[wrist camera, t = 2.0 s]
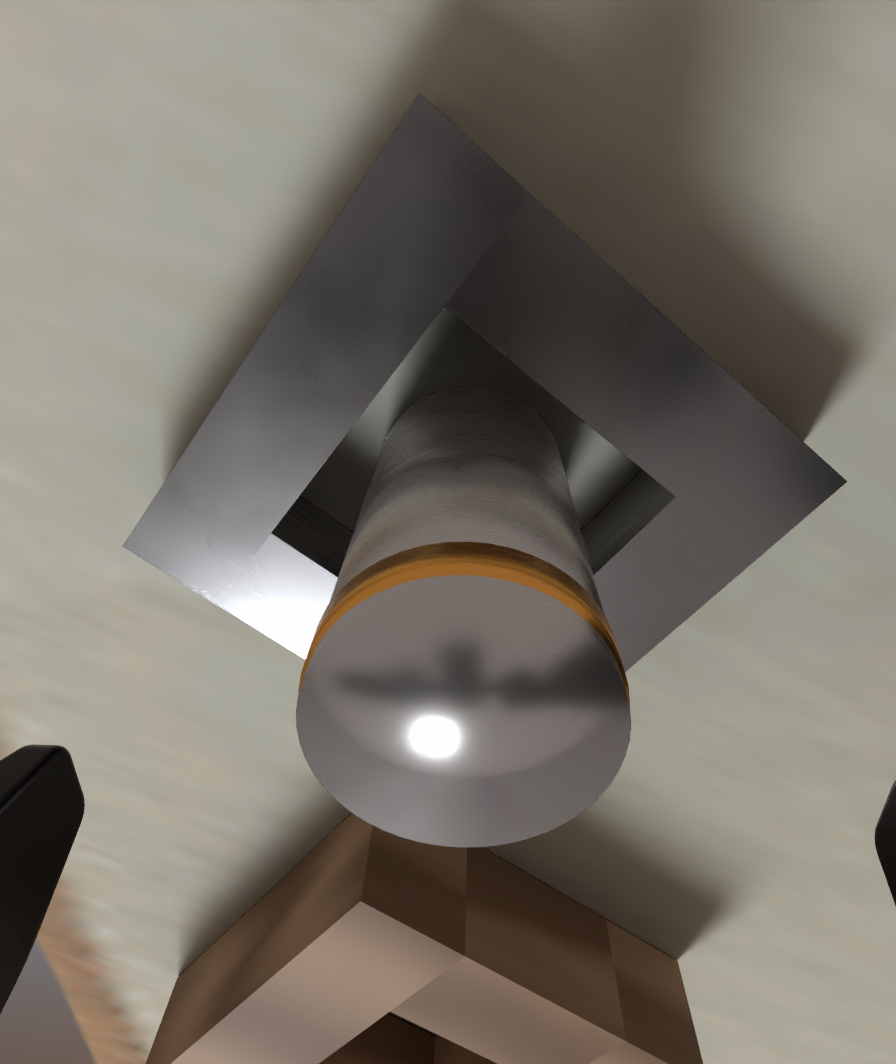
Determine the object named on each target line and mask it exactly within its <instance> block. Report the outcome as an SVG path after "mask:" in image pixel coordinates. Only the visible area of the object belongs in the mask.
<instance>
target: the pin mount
mask: <svg viewBox="0 0 896 1064" xmlns="http://www.w3.org/2000/svg"><path fill="white" fill-rule="evenodd" d="M443 307H445V308H447V309H448V310H449V311H450V312H451V313H453V314H454V315H455V316H456V317H458V318H459V319H460V320H461V321H462V322H464V323H465V324H466V325H467V326H469V327H470V328H471V329H472V330H473V331H475V332H476V333H477V334H478V335H480V336H481V337H482V338H483V339H484V340H486V341H487V342H488V343H489V344H491V345H492V346H493V347H494V348H495V349H497V350H498V351H499V352H500V353H501V354H503V355H504V356H505V357H506V358H508V359H509V360H510V361H511V362H512V363H514V364H515V365H516V366H517V367H519V368H520V369H521V370H522V371H523V372H525V373H526V374H527V375H528V376H530V377H531V378H532V379H533V380H534V381H536V382H537V383H538V384H539V385H540V386H542V387H543V388H544V389H545V390H547V391H548V392H549V393H550V394H551V395H553V396H554V397H555V398H556V399H558V400H559V401H560V402H561V403H562V404H564V405H565V406H566V407H567V408H569V409H570V410H571V411H572V412H573V413H575V414H576V415H577V416H578V417H579V418H581V419H582V420H583V421H584V422H586V423H587V424H588V425H589V426H590V427H592V428H593V429H594V430H595V431H597V432H598V433H599V434H600V435H601V436H603V437H604V438H605V439H606V440H608V441H609V442H610V443H611V444H612V445H614V446H615V447H616V448H617V449H618V450H620V451H621V452H622V453H623V454H625V455H626V456H627V457H628V458H629V459H631V460H632V461H633V462H634V463H636V464H637V465H638V466H639V467H640V468H642V470H641V471H640V472H639V473H638V474H637V475H636V476H635V477H634V478H633V479H632V480H631V481H630V482H629V483H628V484H627V485H626V486H625V487H624V488H623V489H622V490H621V491H620V492H619V493H618V494H617V495H616V496H615V497H614V498H613V499H612V500H611V501H610V502H609V503H608V504H607V505H606V506H605V507H604V508H603V509H602V510H601V511H600V512H599V513H598V514H597V515H596V516H595V517H594V518H593V519H592V520H591V521H590V522H589V523H588V524H587V525H586V526H585V527H584V528H583V529H582V530H581V532H582V536H583V540H584V543H585V547H586V550H587V554H588V558H589V561H590V565H591V568H592V572H593V576H594V579H595V583H596V586H597V590H598V594H599V597H600V601H601V604H602V608H603V611H604V614H605V616H606V617H607V620H608V622H609V624H610V626H611V628H612V631H613V633H614V636H615V639H616V643H617V646H618V650H619V653H620V657H621V660H622V664H623V667H624V671H625V672H626V671H627V670H628V669H629V668H630V667H632V666H633V665H634V664H635V663H636V662H637V661H639V660H640V659H641V658H642V657H643V656H644V655H646V654H647V653H648V652H649V651H650V650H651V649H653V648H654V647H655V646H656V645H657V644H658V643H660V642H661V641H662V640H663V639H664V638H665V637H667V636H668V635H669V634H670V633H671V632H672V631H674V630H675V629H676V628H677V627H678V626H679V625H681V624H682V623H683V622H684V621H685V620H686V619H688V618H689V617H690V616H691V615H692V614H693V613H695V612H696V611H697V610H698V609H699V608H700V607H702V606H703V605H704V604H705V603H706V602H707V601H709V600H710V599H711V598H712V597H713V596H714V595H716V594H717V593H718V592H719V591H720V590H721V589H723V588H724V587H725V586H726V585H727V584H728V583H729V582H731V581H732V580H733V579H734V578H735V577H736V576H738V575H739V574H740V573H741V572H742V571H743V570H745V569H746V568H747V567H748V566H749V565H750V564H752V563H753V562H754V561H755V560H756V559H757V558H759V557H760V556H761V555H762V554H763V553H764V552H766V551H767V550H768V549H769V548H770V547H771V546H773V545H774V544H775V543H776V542H777V541H778V540H780V539H781V538H782V537H783V536H784V535H785V534H787V533H788V532H789V531H790V530H791V529H792V528H794V527H795V526H796V525H797V524H798V523H799V522H801V521H802V520H803V519H804V518H805V517H806V516H808V515H809V514H810V513H811V512H812V511H813V510H815V509H816V508H817V507H818V506H819V505H820V504H822V503H823V502H824V501H825V500H826V499H827V498H829V497H830V496H831V495H832V494H833V493H834V492H836V491H837V490H838V489H839V488H840V487H841V486H843V485H844V484H845V483H846V482H847V481H846V480H845V479H844V478H843V477H842V476H841V475H839V474H838V473H837V472H836V471H835V470H834V469H833V468H832V467H831V466H829V465H828V464H827V463H826V462H825V461H824V460H823V459H822V458H821V457H820V456H818V455H817V454H816V453H815V452H814V451H813V450H812V449H811V448H810V447H809V446H807V445H806V444H805V443H804V442H803V441H802V440H801V439H800V438H799V437H798V436H796V435H795V434H794V433H793V432H792V431H791V430H790V429H789V428H788V427H787V426H785V425H784V424H783V423H782V422H781V421H780V420H779V419H778V418H777V417H776V416H774V415H773V414H772V413H771V412H770V411H769V410H768V409H767V408H766V407H764V406H763V405H762V404H761V403H760V402H759V401H758V400H757V399H756V398H755V397H753V396H752V395H751V394H750V393H749V392H748V391H747V390H746V389H745V388H744V387H742V386H741V385H740V384H739V383H738V382H737V381H736V380H735V379H734V378H733V377H731V376H730V375H729V374H728V373H727V372H726V371H725V370H724V369H723V368H722V367H720V366H719V365H718V364H717V363H716V362H715V361H714V360H713V359H712V358H711V357H709V356H708V355H707V354H706V353H705V352H704V351H703V350H702V349H701V348H699V347H698V346H697V345H696V344H695V343H694V342H693V341H692V340H691V339H690V338H688V337H687V336H686V335H685V334H684V333H683V332H682V331H681V330H680V329H679V328H677V327H676V326H675V325H674V324H673V323H672V322H671V321H670V320H669V319H668V318H666V317H665V316H664V315H663V314H662V313H661V312H660V311H659V310H658V309H657V308H655V307H654V306H653V305H652V304H651V303H650V302H649V301H648V300H647V299H646V298H644V297H643V296H642V295H641V294H640V293H639V292H638V291H637V290H636V289H635V288H633V287H632V286H631V285H630V284H629V283H628V282H627V281H626V280H625V279H623V278H622V277H621V276H620V275H619V274H618V273H617V272H616V271H615V270H614V269H612V268H611V267H610V266H609V265H608V264H607V263H606V262H605V261H604V260H603V259H601V258H600V257H599V256H598V255H597V254H596V253H595V252H594V251H593V250H592V249H590V248H589V247H588V246H587V245H586V244H585V243H584V242H583V241H582V240H581V239H579V238H578V237H577V236H576V235H575V234H574V233H573V232H572V231H571V230H570V229H568V228H567V227H566V226H565V225H564V224H563V223H562V222H561V221H560V220H558V219H557V218H556V217H555V216H554V215H553V214H552V213H551V212H550V211H549V210H547V209H546V208H545V207H544V206H543V205H542V204H541V203H540V202H539V201H538V200H536V199H535V198H534V197H533V196H532V195H531V194H530V193H529V192H528V191H527V190H525V189H524V188H523V187H522V186H521V185H520V184H519V183H518V182H517V181H516V180H514V179H513V178H512V177H511V176H510V175H509V174H508V173H507V172H506V171H505V170H503V169H502V168H501V167H500V166H499V165H498V164H497V163H496V162H495V161H494V160H492V159H491V158H490V157H489V156H488V155H487V154H486V153H485V152H484V151H482V150H481V149H480V148H479V147H478V146H477V145H476V144H475V143H474V142H473V141H471V140H470V139H469V138H468V137H467V136H466V135H465V134H464V133H463V132H462V131H460V130H459V129H458V128H457V127H456V126H455V125H454V124H453V123H452V122H451V121H449V120H448V119H447V118H446V117H445V116H444V115H443V114H442V113H441V112H440V111H438V110H437V109H436V108H435V107H434V106H433V105H432V104H431V103H430V102H429V101H427V100H426V99H425V98H424V97H423V96H422V95H421V94H420V93H418V95H417V96H416V98H415V100H414V101H413V103H412V104H411V106H410V107H409V109H408V110H407V112H406V113H405V115H404V116H403V118H402V119H401V121H400V122H399V124H398V126H397V127H396V129H395V130H394V132H393V133H392V135H391V136H390V138H389V139H388V141H387V142H386V144H385V145H384V147H383V148H382V150H381V152H380V153H379V155H378V156H377V158H376V159H375V161H374V162H373V164H372V165H371V167H370V168H369V170H368V171H367V173H366V175H365V176H364V178H363V179H362V181H361V182H360V184H359V185H358V187H357V188H356V190H355V191H354V193H353V194H352V196H351V197H350V199H349V201H348V202H347V204H346V205H345V207H344V208H343V210H342V211H341V213H340V214H339V216H338V217H337V219H336V220H335V222H334V223H333V225H332V227H331V228H330V230H329V231H328V233H327V234H326V236H325V237H324V239H323V240H322V242H321V243H320V245H319V246H318V248H317V249H316V251H315V253H314V254H313V256H312V257H311V259H310V260H309V262H308V263H307V265H306V266H305V268H304V269H303V271H302V272H301V274H300V276H299V277H298V279H297V280H296V282H295V283H294V285H293V286H292V288H291V289H290V291H289V292H288V294H287V295H286V297H285V298H284V300H283V302H282V303H281V305H280V306H279V308H278V309H277V311H276V312H275V314H274V315H273V317H272V318H271V320H270V321H269V323H268V324H267V326H266V328H265V329H264V331H263V332H262V334H261V335H260V337H259V338H258V340H257V341H256V343H255V344H254V346H253V347H252V349H251V350H250V352H249V354H248V355H247V357H246V358H245V360H244V361H243V363H242V364H241V366H240V367H239V369H238V370H237V372H236V373H235V375H234V377H233V378H232V380H231V381H230V383H229V384H228V386H227V387H226V389H225V390H224V392H223V393H222V395H221V396H220V398H219V399H218V401H217V403H216V404H215V406H214V407H213V409H212V410H211V412H210V413H209V415H208V416H207V418H206V419H205V421H204V422H203V424H202V425H201V427H200V429H199V430H198V432H197V433H196V435H195V436H194V438H193V439H192V441H191V442H190V444H189V445H188V447H187V448H186V450H185V452H184V453H183V455H182V456H181V458H180V459H179V461H178V462H177V464H176V465H175V467H174V468H173V470H172V471H171V473H170V474H169V476H168V478H167V479H166V481H165V482H164V484H163V485H162V487H161V488H160V490H159V491H158V493H157V494H156V496H155V497H154V499H153V500H152V502H151V504H150V505H149V507H148V508H147V510H146V511H145V513H144V514H143V516H142V517H141V519H140V520H139V522H138V523H137V525H136V526H135V528H134V530H133V531H132V533H131V534H130V536H129V537H128V539H127V540H126V542H125V543H124V545H123V547H124V548H126V549H127V550H129V551H131V552H132V553H134V554H135V555H137V556H139V557H140V558H142V559H144V560H145V561H147V562H148V563H150V564H152V565H153V566H155V567H156V568H158V569H160V570H161V571H163V572H165V573H166V574H168V575H169V576H171V577H173V578H174V579H176V580H177V581H179V582H181V583H182V584H184V585H186V586H187V587H189V588H190V589H192V590H194V591H195V592H197V593H198V594H200V595H202V596H203V597H205V598H207V599H208V600H210V601H211V602H213V603H215V604H216V605H218V606H219V607H221V608H223V609H224V610H226V611H228V612H229V613H231V614H232V615H234V616H236V617H237V618H239V619H240V620H242V621H244V622H245V623H247V624H249V625H250V626H252V627H253V628H255V629H257V630H258V631H260V632H261V633H263V634H265V635H266V636H268V637H269V638H271V639H273V640H274V641H276V642H278V643H279V644H281V645H282V646H284V647H286V648H287V649H289V650H290V651H292V652H294V653H295V654H297V655H299V656H300V657H302V658H303V659H305V660H306V657H307V654H308V651H309V648H310V646H311V643H312V640H313V637H314V634H315V631H316V628H317V626H318V623H319V621H320V619H321V617H322V615H323V613H324V611H325V610H326V608H327V606H328V605H329V603H330V600H331V597H332V594H333V591H334V588H335V585H336V582H337V579H338V576H339V573H340V570H341V567H342V564H343V561H344V559H345V556H346V553H347V550H348V547H349V544H350V541H351V538H352V535H353V532H351V531H350V530H348V529H347V528H345V527H344V526H343V525H341V524H340V523H338V522H337V521H335V520H334V519H332V518H331V517H329V516H328V515H327V514H325V513H324V512H322V511H321V510H319V509H318V508H316V507H315V506H313V505H312V504H311V503H309V502H308V501H306V500H305V499H303V498H302V497H300V494H301V493H302V492H303V490H304V489H305V488H306V487H307V485H308V484H309V483H310V481H311V480H312V479H313V477H314V476H315V475H316V473H317V472H318V471H319V469H320V468H321V467H322V466H323V464H324V463H325V462H326V460H327V459H328V458H329V456H330V455H331V454H332V452H333V451H334V450H335V448H336V447H337V446H338V445H339V443H340V442H341V441H342V439H343V438H344V437H345V435H346V434H347V433H348V431H349V430H350V429H351V427H352V426H353V425H354V424H355V422H356V421H357V420H358V418H359V417H360V416H361V414H362V413H363V412H364V410H365V409H366V408H367V407H368V405H369V404H370V403H371V401H372V400H373V399H374V397H375V396H376V395H377V393H378V392H379V391H380V389H381V388H382V387H383V386H384V384H385V383H386V382H387V380H388V379H389V378H390V376H391V375H392V374H393V372H394V371H395V370H396V368H397V367H398V366H399V365H400V363H401V362H402V361H403V359H404V358H405V357H406V355H407V354H408V353H409V351H410V350H411V349H412V348H413V346H414V345H415V344H416V342H417V341H418V340H419V338H420V337H421V336H422V334H423V333H424V332H425V330H426V329H427V328H428V327H429V325H430V324H431V323H432V321H433V320H434V319H435V317H436V316H437V315H438V313H439V312H440V311H441V309H442V308H443Z"/></svg>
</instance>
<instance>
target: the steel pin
mask: <svg viewBox="0 0 896 1064" xmlns="http://www.w3.org/2000/svg"><path fill="white" fill-rule="evenodd" d="M296 724H297V732H298V737H299V742H300V745H301V748H302V751H303V753H304V756H305V759H306V761H307V763H308V764H309V766H310V768H311V770H312V772H313V773H314V775H315V776H316V778H317V779H318V780H319V782H320V783H321V784H322V786H323V787H324V788H325V789H326V790H327V791H328V792H329V793H330V794H331V795H332V796H333V797H334V798H335V799H336V800H337V801H338V802H339V803H340V804H341V805H343V806H344V807H345V808H346V809H348V810H349V811H350V812H352V813H353V814H355V815H356V816H358V817H359V818H361V819H363V820H364V821H366V822H368V823H370V824H372V825H374V826H376V827H378V828H380V829H382V830H384V831H386V832H389V833H392V834H394V835H397V836H400V837H403V838H406V839H410V840H414V841H417V842H421V843H427V844H433V845H438V846H449V847H487V846H498V845H503V844H508V843H514V842H518V841H522V840H525V839H529V838H532V837H536V836H538V835H541V834H543V833H546V832H548V831H551V830H553V829H555V828H557V827H559V826H561V825H562V824H564V823H566V822H568V821H570V820H571V819H573V818H574V817H576V816H577V815H579V814H580V813H582V812H583V811H584V810H586V809H587V808H588V807H589V806H590V805H591V804H592V803H594V802H595V801H596V800H597V799H598V798H599V797H600V796H601V795H602V793H603V792H604V791H605V790H606V789H607V788H608V786H609V785H610V784H611V782H612V781H613V779H614V777H615V776H616V774H617V773H618V771H619V769H620V767H621V765H622V762H623V760H624V758H625V756H626V752H627V748H628V744H629V740H630V730H631V716H630V699H629V688H628V682H627V679H626V675H625V671H624V667H623V664H622V660H621V657H620V653H619V650H618V646H617V643H616V639H615V636H614V633H613V631H612V628H611V626H610V624H609V622H608V620H607V617H606V616H605V614H604V611H603V608H602V604H601V601H600V597H599V594H598V590H597V586H596V583H595V579H594V576H593V572H592V568H591V565H590V561H589V558H588V554H587V550H586V547H585V543H584V540H583V536H582V532H581V529H580V525H579V522H578V518H577V515H576V511H575V507H574V504H573V500H572V497H571V493H570V489H569V486H568V482H567V479H566V475H565V471H564V468H563V464H562V461H561V457H560V454H559V450H558V446H557V443H556V441H555V439H554V436H553V434H552V432H551V431H550V429H549V427H548V426H547V424H546V423H545V422H544V420H543V419H542V418H541V417H540V416H539V414H538V413H536V412H535V411H534V410H533V409H532V408H531V407H530V406H529V405H527V404H526V403H524V402H523V401H521V400H520V399H518V398H516V397H514V396H512V395H510V394H508V393H505V392H503V391H500V390H497V389H493V388H488V387H481V386H458V387H452V388H447V389H444V390H440V391H437V392H434V393H432V394H430V395H428V396H426V397H424V398H422V399H420V400H419V401H417V402H416V403H414V404H413V405H412V406H410V407H409V408H408V409H407V410H406V411H404V413H403V414H402V415H401V416H400V417H399V418H398V419H397V420H396V422H395V423H394V425H393V426H392V428H391V429H390V431H389V433H388V435H387V437H386V439H385V441H384V444H383V447H382V450H381V453H380V456H379V459H378V462H377V465H376V468H375V471H374V474H373V476H372V479H371V482H370V485H369V488H368V491H367V494H366V497H365V500H364V503H363V506H362V509H361V512H360V515H359V518H358V520H357V523H356V526H355V529H354V532H353V535H352V538H351V541H350V544H349V547H348V550H347V553H346V556H345V559H344V561H343V564H342V567H341V570H340V573H339V576H338V579H337V582H336V585H335V588H334V591H333V594H332V597H331V600H330V603H329V605H328V606H327V608H326V610H325V611H324V613H323V615H322V617H321V619H320V621H319V623H318V626H317V628H316V631H315V634H314V637H313V640H312V643H311V646H310V648H309V651H308V654H307V657H306V660H305V663H304V666H303V669H302V672H301V678H300V684H299V695H298V701H297V708H296Z"/></svg>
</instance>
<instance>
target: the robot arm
mask: <svg viewBox="0 0 896 1064" xmlns="http://www.w3.org/2000/svg"><path fill="white" fill-rule="evenodd" d="M84 806H85V804H84V795H83V792H82V789H81V786H80V783H79V780H78V777H77V774H76V771H75V767H74V764H73V761H72V758H71V755H70V753H69V751H68V750H67V749H66V748H64V747H62V746H58V745H27V746H24V747H22V748H20V749H18V750H17V751H15V752H13V753H12V754H10V755H9V756H7V757H5V758H4V759H2V760H1V761H0V1014H1V1012H2V1010H3V1008H4V1006H5V1004H6V1002H7V1000H8V998H9V996H10V994H11V992H12V990H13V988H14V986H15V984H16V982H17V979H18V977H19V975H20V973H21V971H22V969H23V967H24V965H25V963H26V961H27V958H28V956H29V954H30V951H31V949H32V947H33V944H34V942H35V939H36V937H37V935H38V932H39V929H40V927H41V924H42V922H43V919H44V917H45V914H46V912H47V909H48V906H49V904H50V901H51V899H52V896H53V894H54V891H55V888H56V886H57V883H58V881H59V878H60V876H61V873H62V870H63V868H64V865H65V863H66V860H67V858H68V855H69V852H70V850H71V847H72V845H73V842H74V840H75V837H76V834H77V832H78V829H79V827H80V824H81V821H82V818H83V814H84ZM875 845H876V850H877V854H878V857H879V860H880V863H881V865H882V868H883V871H884V874H885V877H886V880H887V882H888V885H889V888H890V891H891V894H892V897H893V900H894V902H895V905H896V781H895V782H894V784H893V785H892V788H891V790H890V793H889V795H888V798H887V800H886V803H885V805H884V808H883V810H882V813H881V815H880V818H879V820H878V823H877V826H876V829H875Z"/></svg>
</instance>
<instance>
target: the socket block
mask: <svg viewBox="0 0 896 1064" xmlns="http://www.w3.org/2000/svg"><path fill="white" fill-rule="evenodd" d="M388 1012H392V1013H394V1014H396V1015H398V1016H400V1017H402V1018H404V1019H406V1020H408V1021H411V1022H413V1023H415V1024H417V1025H419V1026H421V1027H423V1028H425V1029H427V1030H429V1031H431V1032H433V1033H435V1034H437V1035H436V1036H433V1035H430V1034H428V1033H426V1032H424V1031H422V1030H420V1029H418V1028H416V1027H414V1026H412V1025H410V1024H408V1023H406V1022H404V1021H402V1020H399V1019H397V1018H395V1017H393V1016H391V1015H389V1014H387V1013H388ZM146 1064H703V1061H702V1057H701V1053H700V1049H699V1045H698V1041H697V1037H696V1033H695V1029H694V1025H693V1021H692V1017H691V1013H690V1009H689V1005H688V1001H687V997H686V993H685V989H684V985H683V981H682V977H681V973H680V969H679V965H678V961H676V960H674V959H673V958H671V957H669V956H668V955H666V954H664V953H662V952H661V951H659V950H657V949H656V948H654V947H652V946H650V945H649V944H647V943H645V942H644V941H642V940H640V939H638V938H637V937H635V936H633V935H632V934H630V933H628V932H626V931H625V930H623V929H621V928H619V927H618V926H616V925H614V924H613V923H611V922H609V921H607V920H606V919H604V918H602V917H601V916H599V915H597V914H595V913H594V912H592V911H590V910H589V909H587V908H585V907H583V906H582V905H580V904H578V903H577V902H575V901H573V900H571V899H570V898H568V897H566V896H565V895H563V894H561V893H559V892H558V891H556V890H554V889H553V888H551V887H549V886H547V885H546V884H544V883H542V882H541V881H539V880H537V879H535V878H534V877H532V876H530V875H529V874H527V873H525V872H523V871H522V870H520V869H518V868H517V867H515V866H513V865H511V864H510V863H508V862H506V861H505V860H503V859H501V858H499V857H498V856H496V855H494V854H493V853H491V852H489V851H487V850H486V849H484V848H482V847H449V846H438V845H433V844H427V843H421V842H417V841H414V840H410V839H406V838H403V837H400V836H397V835H394V834H392V833H389V832H386V831H384V830H382V829H380V828H378V827H376V826H374V825H372V824H370V823H368V822H366V821H364V820H363V819H361V818H359V817H358V816H356V815H355V814H353V813H351V814H350V815H349V816H348V817H347V818H346V819H345V820H344V821H343V822H342V823H341V824H340V825H339V826H337V827H336V828H335V829H334V830H333V831H332V832H331V833H330V834H329V835H328V836H327V837H326V838H325V839H324V840H323V841H322V842H321V843H319V844H318V845H317V846H316V847H315V848H314V849H313V850H312V851H311V852H310V853H309V854H308V855H307V856H306V857H305V858H304V859H303V860H302V861H300V862H299V863H298V864H297V865H296V866H295V867H294V868H293V869H292V870H291V871H290V872H289V873H288V874H287V875H286V876H285V877H284V878H283V879H281V880H280V881H279V882H278V883H277V884H276V885H275V886H274V887H273V888H272V889H271V890H270V891H269V892H268V893H267V894H266V895H265V896H264V897H262V898H261V899H260V900H259V901H258V902H257V903H256V904H255V905H254V906H253V907H252V908H251V909H250V910H249V911H248V912H247V913H246V914H244V915H243V916H242V917H241V918H240V919H239V920H238V921H237V922H236V923H235V924H234V925H233V926H232V927H231V928H230V929H229V930H228V931H227V932H225V933H224V934H223V935H222V936H221V937H220V938H219V939H218V940H217V941H216V942H215V943H214V944H213V945H212V946H211V947H210V948H209V949H208V950H206V951H205V952H204V953H203V954H202V955H201V956H200V957H199V958H198V959H197V960H196V961H195V962H194V963H193V964H192V965H191V966H190V967H189V968H187V969H186V970H185V971H184V972H183V973H182V974H181V975H180V976H179V977H178V978H177V981H176V983H175V986H174V989H173V991H172V994H171V997H170V1000H169V1002H168V1005H167V1008H166V1010H165V1013H164V1016H163V1018H162V1021H161V1024H160V1026H159V1029H158V1032H157V1035H156V1037H155V1040H154V1043H153V1045H152V1048H151V1051H150V1053H149V1056H148V1059H147V1062H146Z"/></svg>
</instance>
